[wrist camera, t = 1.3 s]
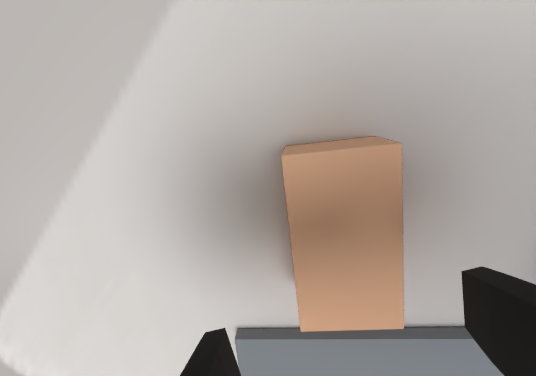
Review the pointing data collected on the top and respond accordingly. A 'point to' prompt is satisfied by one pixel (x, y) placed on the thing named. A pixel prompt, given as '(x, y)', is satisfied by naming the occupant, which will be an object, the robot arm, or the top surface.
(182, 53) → the top surface
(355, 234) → the tan rectangular block
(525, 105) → the top surface
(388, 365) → the rubber mat
